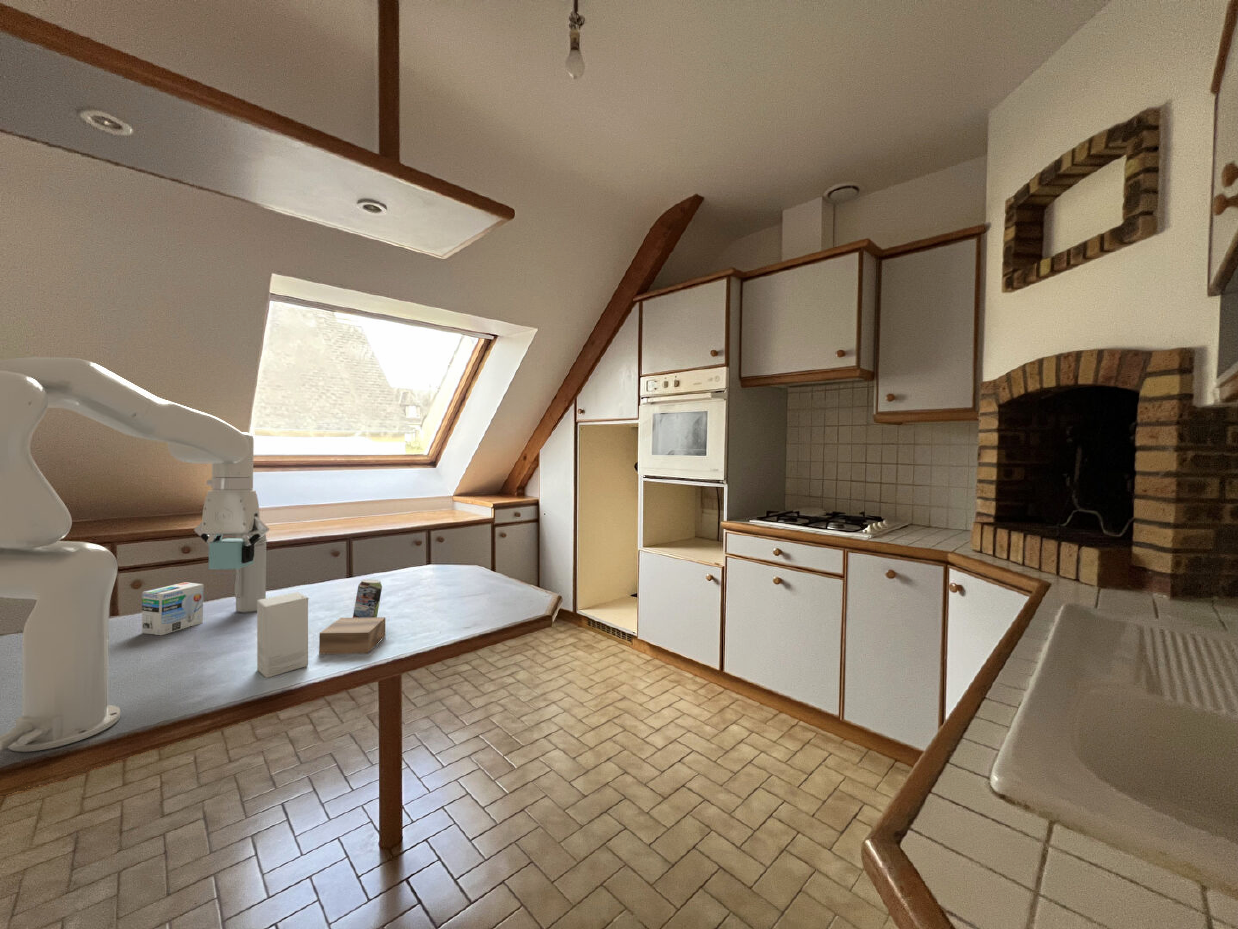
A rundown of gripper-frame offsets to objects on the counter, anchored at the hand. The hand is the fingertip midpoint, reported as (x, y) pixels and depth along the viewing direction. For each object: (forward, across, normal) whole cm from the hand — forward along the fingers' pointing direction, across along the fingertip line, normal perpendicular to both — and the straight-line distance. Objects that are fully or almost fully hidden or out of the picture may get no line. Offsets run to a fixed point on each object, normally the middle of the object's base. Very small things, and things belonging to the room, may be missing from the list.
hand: (231, 561), depth 114 cm
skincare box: (+22, +16, -9) cm, 29 cm away
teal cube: (+1, 0, 0) cm, 1 cm away
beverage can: (+22, +23, +20) cm, 37 cm away
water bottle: (+22, -15, +32) cm, 41 cm away
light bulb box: (+22, -25, +18) cm, 38 cm away
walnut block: (+22, +26, +4) cm, 34 cm away
